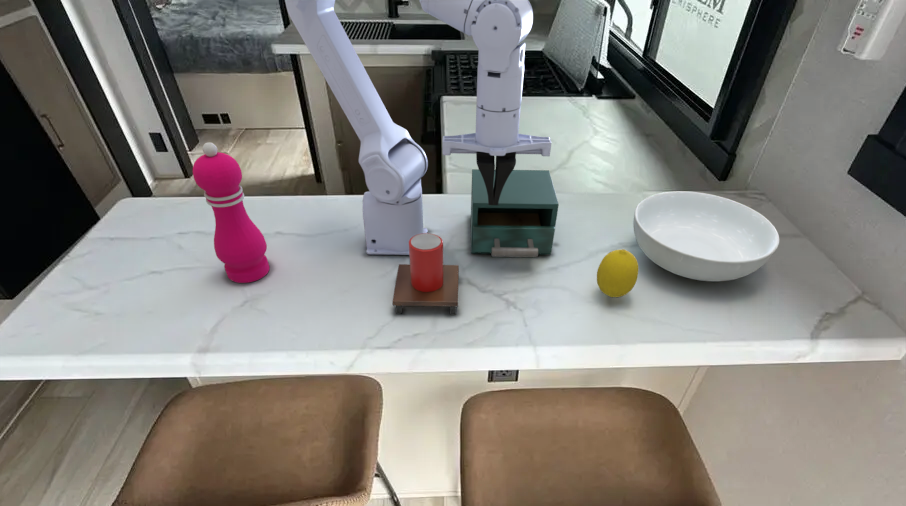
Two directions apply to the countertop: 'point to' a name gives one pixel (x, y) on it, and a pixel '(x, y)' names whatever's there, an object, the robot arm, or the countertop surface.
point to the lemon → (617, 273)
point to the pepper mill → (231, 216)
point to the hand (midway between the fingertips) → (493, 202)
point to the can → (426, 262)
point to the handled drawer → (512, 235)
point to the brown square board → (413, 297)
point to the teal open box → (517, 197)
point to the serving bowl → (703, 235)
